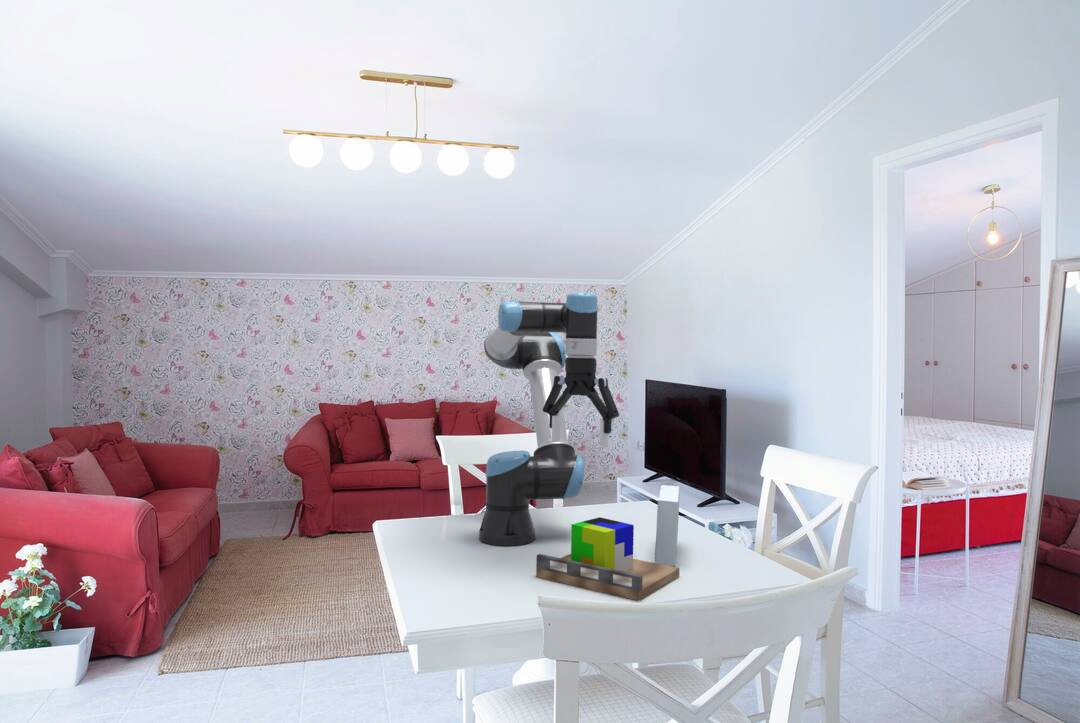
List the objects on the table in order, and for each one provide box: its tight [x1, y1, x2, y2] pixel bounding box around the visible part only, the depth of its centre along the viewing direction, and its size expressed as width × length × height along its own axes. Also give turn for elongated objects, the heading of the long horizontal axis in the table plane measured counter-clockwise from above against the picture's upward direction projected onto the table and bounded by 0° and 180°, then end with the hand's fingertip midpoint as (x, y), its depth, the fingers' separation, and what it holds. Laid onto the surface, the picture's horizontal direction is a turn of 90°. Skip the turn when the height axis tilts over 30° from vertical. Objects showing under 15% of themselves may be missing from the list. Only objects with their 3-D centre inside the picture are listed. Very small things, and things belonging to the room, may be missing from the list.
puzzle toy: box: [570, 516, 635, 572], centre depth 167 cm, size 10×10×10 cm
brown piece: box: [535, 553, 680, 601], centre depth 167 cm, size 26×20×5 cm
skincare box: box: [653, 484, 680, 567], centre depth 186 cm, size 21×6×16 cm, turn 168°
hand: (579, 444), depth 179 cm, fingers open, 13 cm apart
